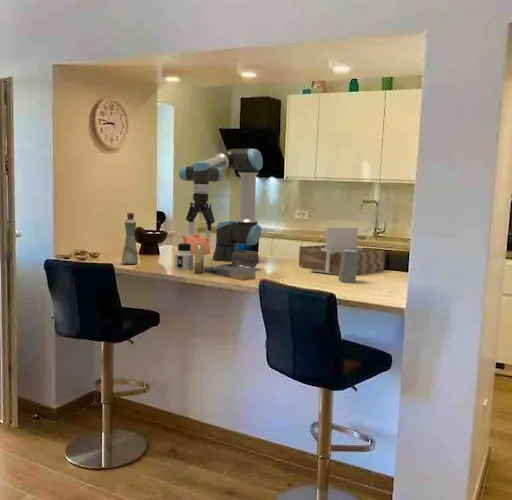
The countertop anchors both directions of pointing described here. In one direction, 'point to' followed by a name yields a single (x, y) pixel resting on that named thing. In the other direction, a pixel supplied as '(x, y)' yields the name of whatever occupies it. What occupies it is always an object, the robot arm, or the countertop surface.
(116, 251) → the countertop surface
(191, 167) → the robot arm
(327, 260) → the white panel on stand
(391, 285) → the countertop surface
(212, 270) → the chain end
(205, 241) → the teapot
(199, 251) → the pin
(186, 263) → the container
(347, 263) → the skincare box
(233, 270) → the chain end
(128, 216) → the bottle
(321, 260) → the holder caddy
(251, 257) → the bowl
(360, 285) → the countertop surface
